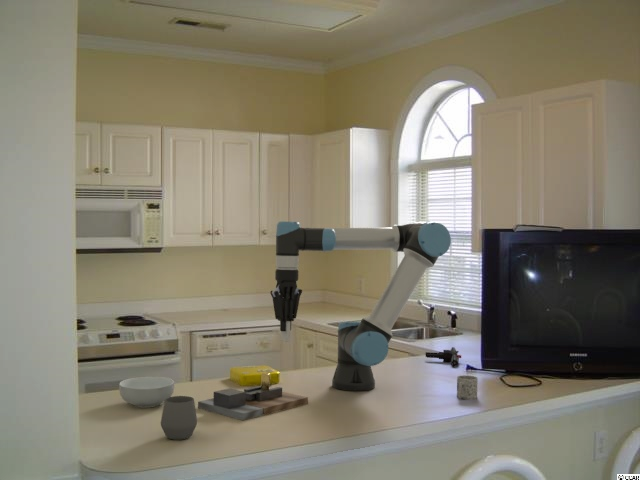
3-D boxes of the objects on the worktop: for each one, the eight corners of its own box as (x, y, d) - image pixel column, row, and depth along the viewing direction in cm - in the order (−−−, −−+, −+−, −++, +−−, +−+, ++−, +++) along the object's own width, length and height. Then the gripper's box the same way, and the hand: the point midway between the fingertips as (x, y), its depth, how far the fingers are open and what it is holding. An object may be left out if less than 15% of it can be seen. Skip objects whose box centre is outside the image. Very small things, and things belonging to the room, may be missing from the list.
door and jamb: (263, 393, 239) (263, 387, 239) (307, 403, 226) (307, 397, 225) (197, 408, 217) (198, 401, 217) (242, 420, 204) (243, 413, 204)
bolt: (266, 394, 228) (266, 372, 228) (273, 395, 226) (273, 373, 226) (243, 399, 220) (244, 376, 220) (250, 400, 218) (250, 378, 218)
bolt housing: (266, 392, 230) (266, 380, 230) (282, 396, 226) (282, 383, 226) (213, 405, 213) (213, 391, 213) (229, 409, 209) (229, 395, 209)
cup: (153, 439, 184) (153, 401, 184) (173, 430, 193) (173, 393, 193) (184, 444, 181) (185, 405, 181) (203, 434, 189) (204, 397, 189)
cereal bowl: (115, 400, 226) (115, 378, 225) (168, 396, 232) (168, 374, 232) (123, 413, 210) (123, 389, 210) (179, 408, 216) (179, 385, 216)
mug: (461, 394, 243) (462, 374, 243) (480, 396, 239) (480, 377, 239) (449, 399, 235) (449, 379, 235) (468, 402, 231) (468, 382, 231)
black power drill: (425, 355, 294) (462, 357, 291) (426, 343, 313) (460, 345, 310) (424, 368, 294) (461, 369, 292) (425, 355, 314) (460, 356, 311)
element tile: (266, 376, 269) (266, 363, 269) (281, 384, 255) (281, 371, 255) (228, 379, 262) (228, 366, 262) (241, 387, 249) (241, 373, 249)
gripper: (292, 267, 239) (290, 337, 239) (264, 268, 229) (263, 341, 229) (308, 268, 234) (307, 340, 234) (281, 269, 224) (279, 344, 224)
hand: (285, 341), depth 232 cm, fingers closed
